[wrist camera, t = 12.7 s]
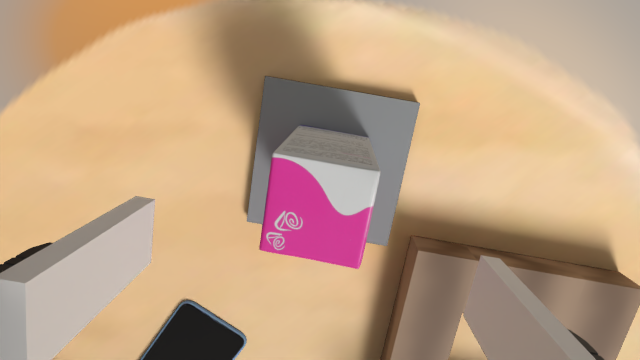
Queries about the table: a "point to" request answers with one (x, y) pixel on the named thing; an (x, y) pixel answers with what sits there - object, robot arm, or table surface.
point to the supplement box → (320, 196)
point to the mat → (344, 116)
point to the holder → (536, 273)
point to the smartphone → (195, 337)
